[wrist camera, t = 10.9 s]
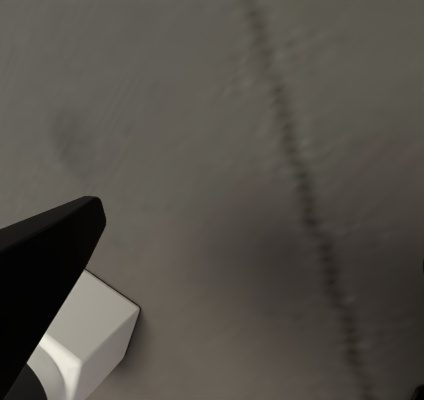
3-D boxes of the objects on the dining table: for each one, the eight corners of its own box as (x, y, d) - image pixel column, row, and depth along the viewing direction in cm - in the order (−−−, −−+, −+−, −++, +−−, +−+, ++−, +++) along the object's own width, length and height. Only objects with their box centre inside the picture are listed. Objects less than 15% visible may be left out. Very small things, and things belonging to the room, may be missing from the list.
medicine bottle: (81, 265, 30) (-69, 355, 19) (142, 306, 28) (12, 431, 18) (71, 317, 33) (-65, 419, 22) (124, 357, 31) (5, 489, 21)
